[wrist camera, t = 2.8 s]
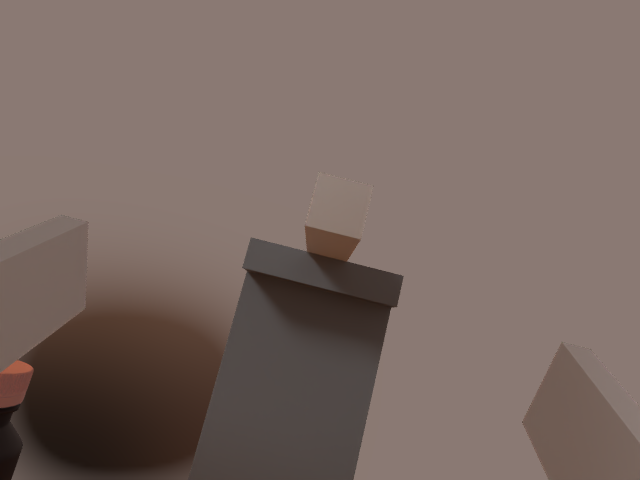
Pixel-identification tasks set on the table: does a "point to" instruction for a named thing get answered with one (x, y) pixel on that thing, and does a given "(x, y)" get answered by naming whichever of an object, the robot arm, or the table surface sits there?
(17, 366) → the bottle
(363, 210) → the beige teal square bar
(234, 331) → the shelf stand
